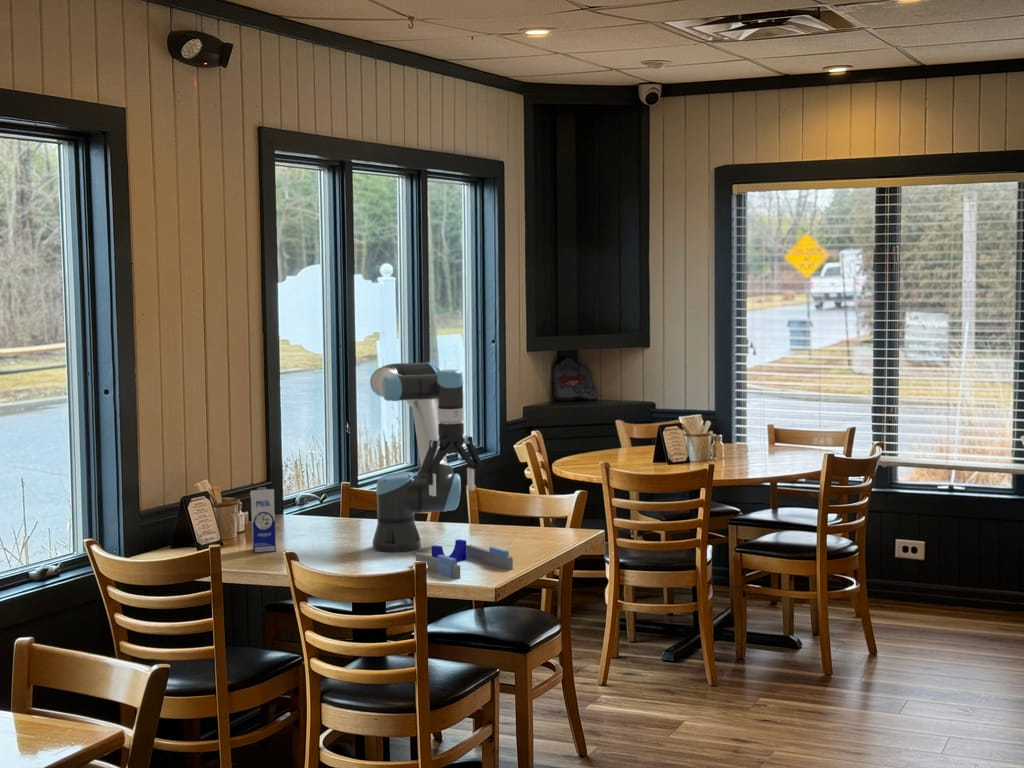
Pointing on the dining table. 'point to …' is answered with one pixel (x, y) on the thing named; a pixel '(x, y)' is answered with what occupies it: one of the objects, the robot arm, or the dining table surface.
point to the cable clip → (458, 552)
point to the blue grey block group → (490, 556)
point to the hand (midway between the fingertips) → (452, 492)
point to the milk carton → (263, 520)
